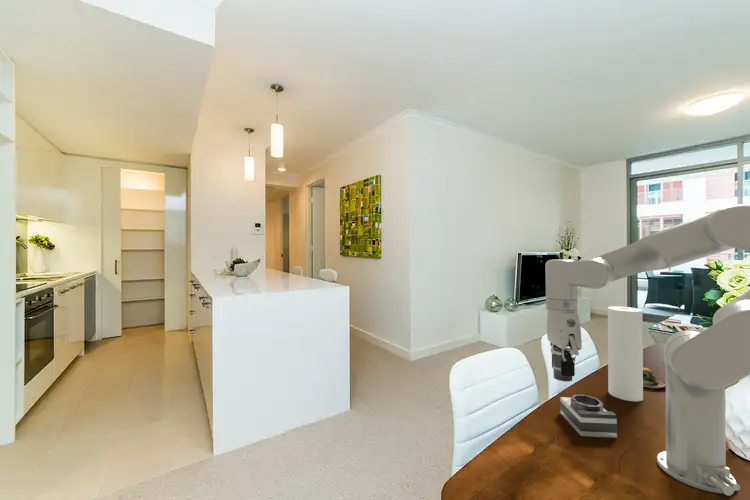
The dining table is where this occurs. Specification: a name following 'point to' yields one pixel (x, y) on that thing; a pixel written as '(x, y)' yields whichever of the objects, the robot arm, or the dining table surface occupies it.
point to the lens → (559, 364)
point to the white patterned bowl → (651, 380)
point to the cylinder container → (625, 353)
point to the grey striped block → (588, 416)
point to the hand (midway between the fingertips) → (562, 371)
